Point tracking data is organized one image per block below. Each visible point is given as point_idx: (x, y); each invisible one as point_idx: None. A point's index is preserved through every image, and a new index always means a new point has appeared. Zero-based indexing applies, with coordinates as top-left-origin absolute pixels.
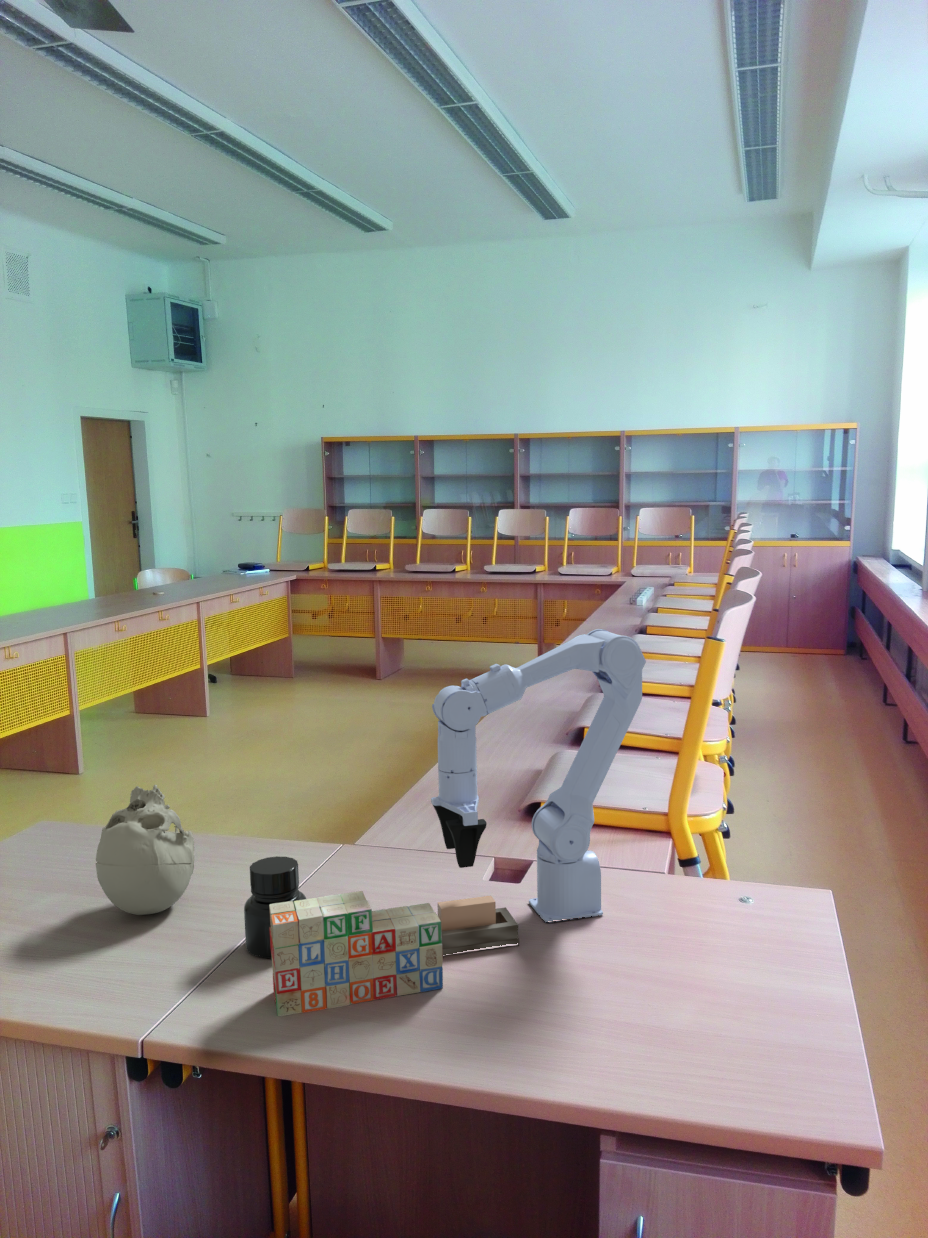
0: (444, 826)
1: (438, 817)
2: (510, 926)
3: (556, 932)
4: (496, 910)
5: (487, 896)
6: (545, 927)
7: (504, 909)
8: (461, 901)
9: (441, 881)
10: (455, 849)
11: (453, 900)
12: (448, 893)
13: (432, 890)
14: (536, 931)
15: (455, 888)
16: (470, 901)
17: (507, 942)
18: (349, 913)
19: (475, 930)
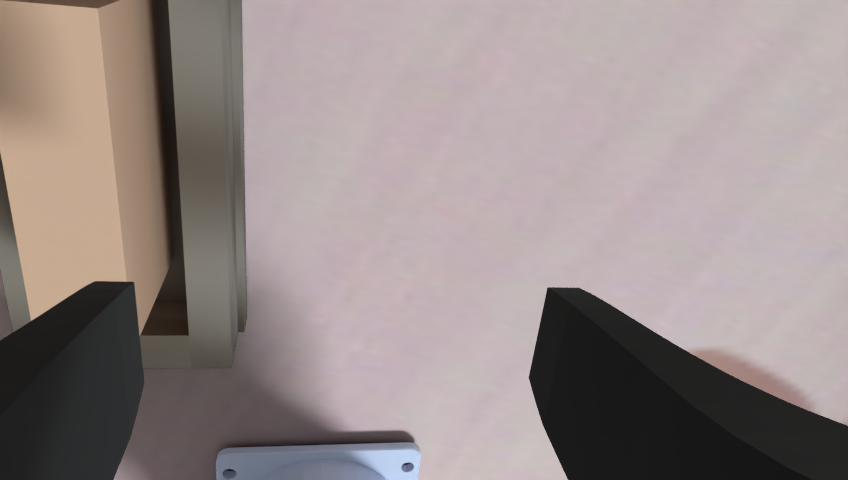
0: (657, 403)
1: (824, 418)
2: None
3: (142, 460)
4: (208, 324)
5: None
6: (195, 438)
7: (209, 358)
8: (80, 171)
9: (774, 196)
10: (32, 355)
11: (109, 126)
12: (649, 190)
13: (716, 133)
14: (169, 403)
15: (678, 231)
16: (66, 223)
17: None
18: None
19: None
